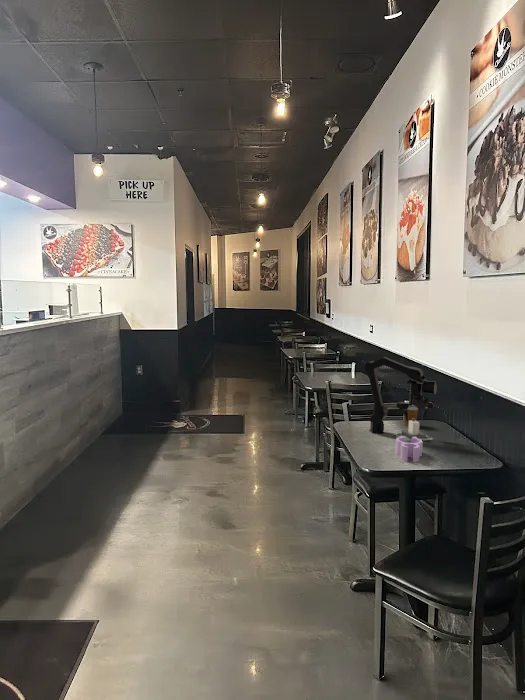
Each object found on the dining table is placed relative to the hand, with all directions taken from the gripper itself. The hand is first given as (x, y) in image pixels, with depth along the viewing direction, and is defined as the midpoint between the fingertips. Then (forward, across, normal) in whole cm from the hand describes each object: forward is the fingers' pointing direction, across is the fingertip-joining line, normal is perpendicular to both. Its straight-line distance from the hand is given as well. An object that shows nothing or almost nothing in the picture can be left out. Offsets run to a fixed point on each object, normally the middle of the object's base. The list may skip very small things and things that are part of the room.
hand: (414, 420), depth 288 cm
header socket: (+9, 0, 0) cm, 9 cm away
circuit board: (+9, 0, 0) cm, 9 cm away
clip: (+10, -17, -29) cm, 35 cm away
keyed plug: (+8, 0, 0) cm, 8 cm away
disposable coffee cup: (+9, +11, +26) cm, 30 cm away
